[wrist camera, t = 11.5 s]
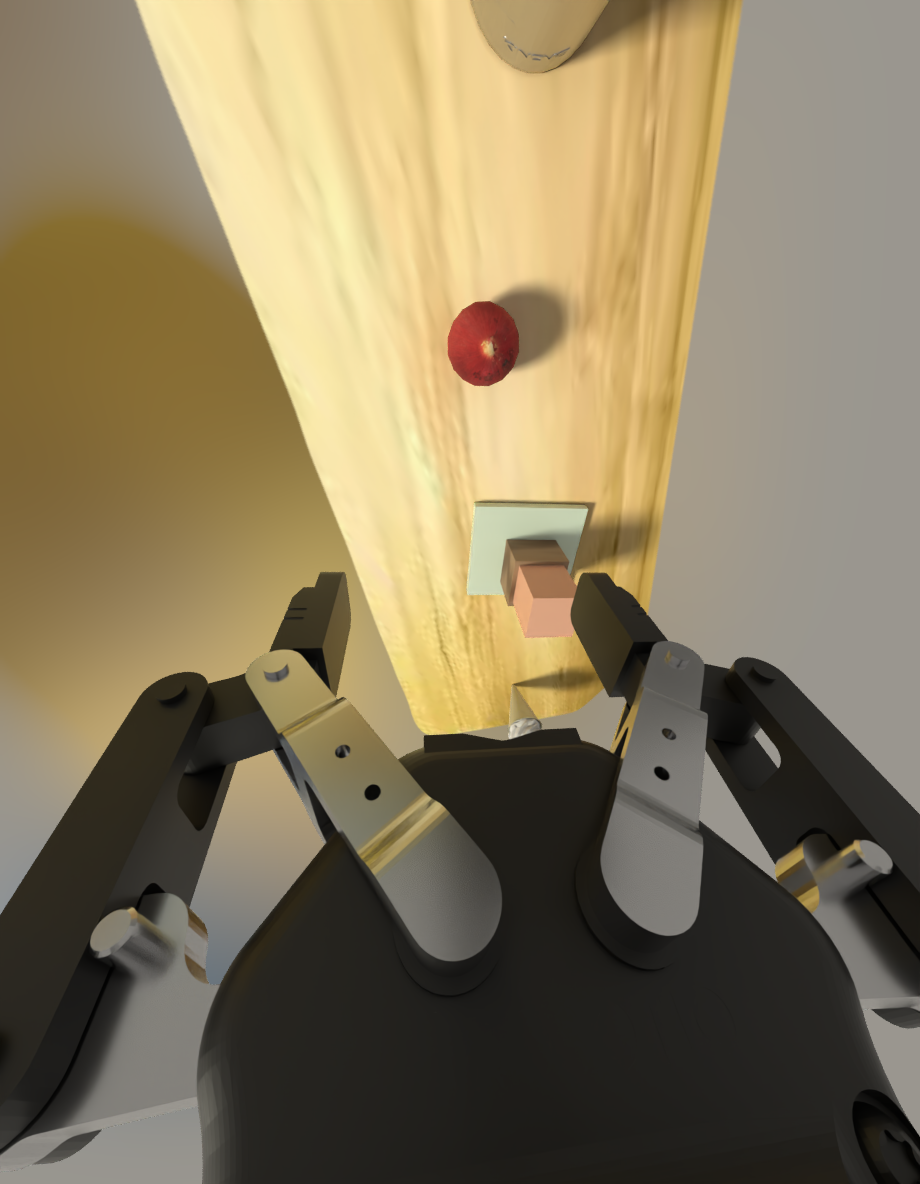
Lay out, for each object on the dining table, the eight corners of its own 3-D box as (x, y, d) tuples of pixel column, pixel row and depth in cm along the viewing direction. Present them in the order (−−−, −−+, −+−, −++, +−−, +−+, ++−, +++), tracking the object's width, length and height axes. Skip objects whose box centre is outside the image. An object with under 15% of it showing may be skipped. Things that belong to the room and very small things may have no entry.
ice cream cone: (492, 691, 63) (511, 781, 51) (507, 671, 60) (531, 760, 48) (517, 698, 64) (542, 787, 52) (534, 679, 62) (563, 767, 50)
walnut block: (506, 539, 45) (515, 561, 41) (555, 539, 46) (569, 561, 42) (500, 581, 49) (508, 606, 45) (546, 581, 49) (557, 605, 45)
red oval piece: (522, 342, 35) (546, 347, 28) (477, 394, 37) (491, 410, 30) (476, 285, 32) (492, 277, 26) (431, 345, 34) (435, 351, 28)
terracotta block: (519, 565, 41) (533, 598, 37) (563, 565, 42) (583, 597, 37) (512, 602, 44) (525, 637, 39) (554, 602, 45) (571, 636, 40)
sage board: (474, 502, 43) (475, 506, 42) (584, 504, 45) (588, 508, 44) (466, 589, 50) (467, 594, 49) (562, 589, 52) (565, 594, 51)
